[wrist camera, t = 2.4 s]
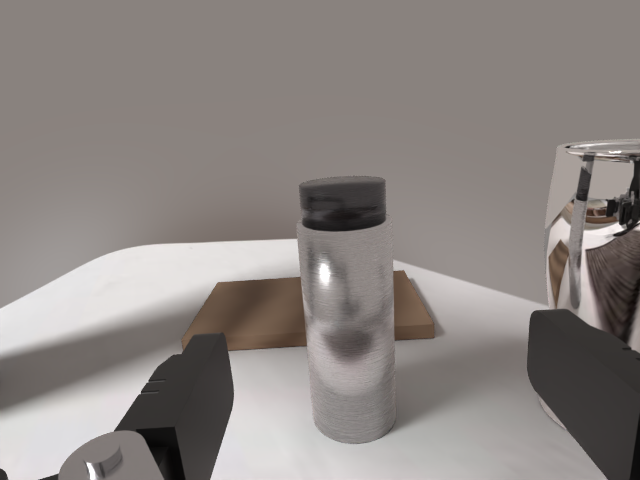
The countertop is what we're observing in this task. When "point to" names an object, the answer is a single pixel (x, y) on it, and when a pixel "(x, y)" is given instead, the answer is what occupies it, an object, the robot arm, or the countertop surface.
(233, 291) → the walnut board
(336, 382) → the pepper grinder
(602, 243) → the beer glass
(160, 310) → the countertop surface
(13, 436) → the countertop surface
